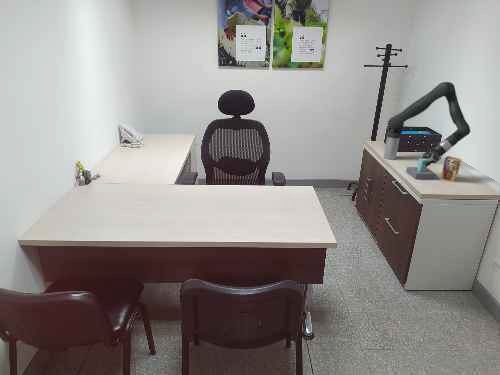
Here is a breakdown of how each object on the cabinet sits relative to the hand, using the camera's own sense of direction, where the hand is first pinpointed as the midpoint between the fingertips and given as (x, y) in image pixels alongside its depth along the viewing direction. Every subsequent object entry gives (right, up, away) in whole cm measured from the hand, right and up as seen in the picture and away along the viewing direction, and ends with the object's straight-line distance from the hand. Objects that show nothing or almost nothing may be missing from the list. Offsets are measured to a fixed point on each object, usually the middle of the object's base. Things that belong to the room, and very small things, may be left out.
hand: (422, 163), depth 250 cm
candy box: (+17, -11, -1) cm, 20 cm away
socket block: (0, -8, +3) cm, 9 cm away
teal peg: (0, -7, +3) cm, 8 cm away
